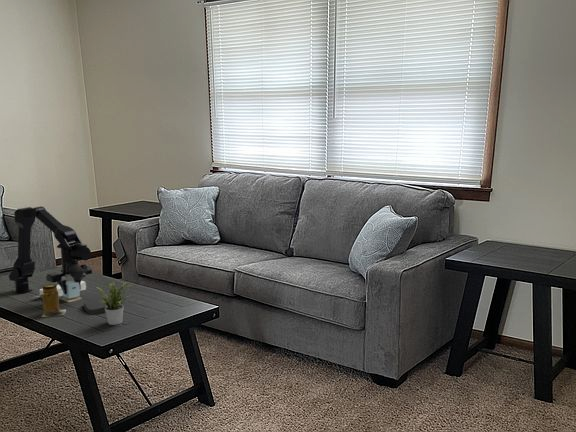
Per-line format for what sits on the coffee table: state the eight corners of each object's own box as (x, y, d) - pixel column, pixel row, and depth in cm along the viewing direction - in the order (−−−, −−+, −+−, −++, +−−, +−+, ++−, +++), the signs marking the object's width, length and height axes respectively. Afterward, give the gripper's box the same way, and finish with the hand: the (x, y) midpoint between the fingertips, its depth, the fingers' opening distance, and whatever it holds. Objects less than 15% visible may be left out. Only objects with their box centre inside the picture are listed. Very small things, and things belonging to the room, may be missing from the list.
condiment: (44, 311, 225) (42, 283, 223) (66, 309, 227) (64, 282, 225) (41, 317, 218) (38, 288, 216) (63, 315, 220) (61, 287, 218)
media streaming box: (89, 316, 220) (88, 309, 220) (82, 306, 233) (81, 299, 232) (125, 309, 228) (125, 302, 227) (117, 300, 240) (116, 293, 240)
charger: (60, 295, 241) (59, 282, 240) (71, 292, 245) (70, 279, 244) (69, 298, 236) (68, 285, 235) (80, 295, 240) (79, 282, 239)
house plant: (144, 322, 212) (141, 281, 209) (111, 332, 202) (109, 290, 199) (124, 314, 222) (121, 275, 219) (92, 323, 211) (89, 282, 209)
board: (61, 299, 240) (61, 298, 240) (74, 296, 244) (74, 295, 244) (69, 302, 236) (68, 301, 236) (81, 299, 241) (81, 297, 241)
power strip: (26, 300, 239) (26, 292, 239) (79, 286, 258) (78, 279, 258) (36, 304, 234) (35, 296, 233) (89, 290, 253) (88, 282, 253)
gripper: (57, 265, 225) (60, 301, 228) (98, 256, 239) (100, 291, 242) (44, 261, 232) (47, 296, 235) (84, 253, 246) (86, 286, 249)
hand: (71, 292), depth 240 cm, fingers closed on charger, 5 cm apart
